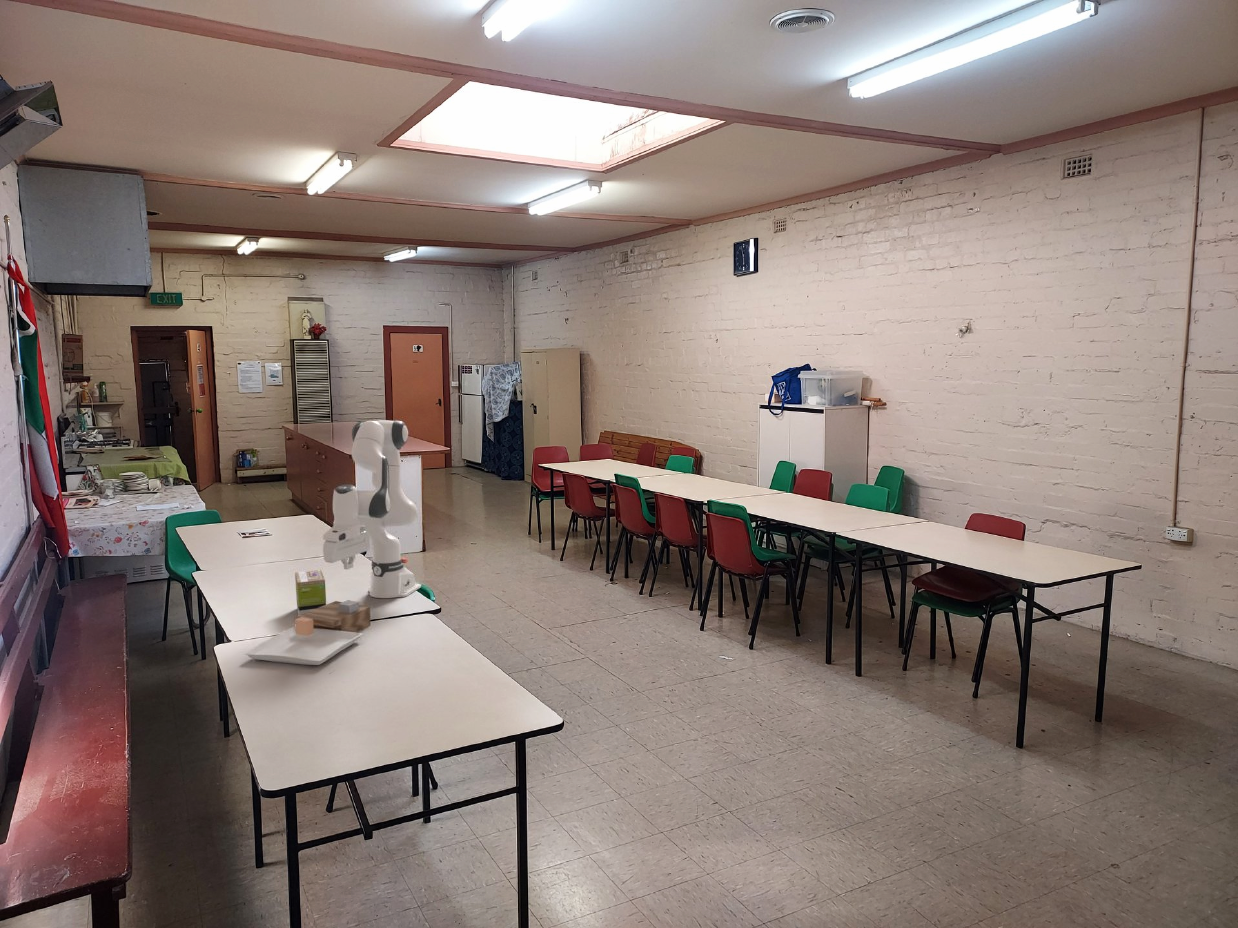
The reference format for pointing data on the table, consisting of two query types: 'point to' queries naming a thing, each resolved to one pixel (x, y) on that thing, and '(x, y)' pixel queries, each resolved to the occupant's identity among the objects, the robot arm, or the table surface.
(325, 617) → the wooden box
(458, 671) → the table surface
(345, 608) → the tile
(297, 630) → the tile
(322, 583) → the tea box
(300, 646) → the square plate
